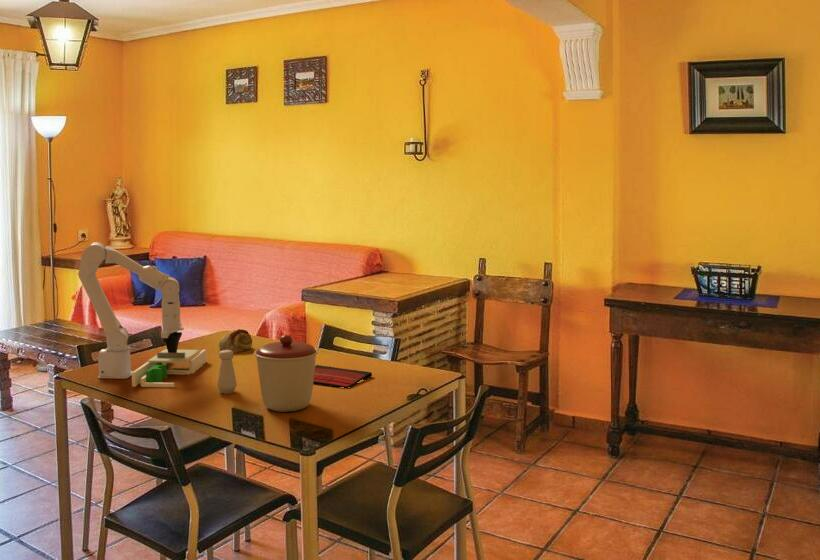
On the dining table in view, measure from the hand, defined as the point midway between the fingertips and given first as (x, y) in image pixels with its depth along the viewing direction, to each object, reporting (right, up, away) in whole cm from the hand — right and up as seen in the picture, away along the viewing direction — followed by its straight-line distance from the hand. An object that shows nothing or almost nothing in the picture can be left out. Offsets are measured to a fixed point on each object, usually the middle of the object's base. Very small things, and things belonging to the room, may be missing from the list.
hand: (172, 354), depth 260 cm
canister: (+44, -12, -35) cm, 57 cm away
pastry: (+14, -1, +35) cm, 37 cm away
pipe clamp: (-2, -8, -8) cm, 12 cm away
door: (0, -1, +2) cm, 2 cm away
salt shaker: (+23, -10, -21) cm, 33 cm away
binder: (+54, -8, -5) cm, 55 cm away
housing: (0, -6, -1) cm, 6 cm away
